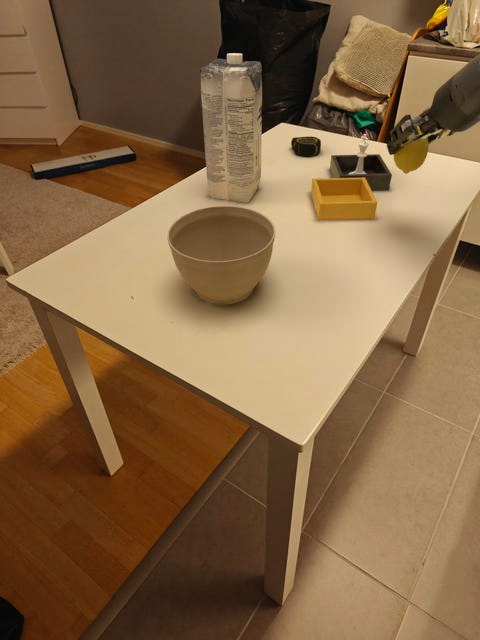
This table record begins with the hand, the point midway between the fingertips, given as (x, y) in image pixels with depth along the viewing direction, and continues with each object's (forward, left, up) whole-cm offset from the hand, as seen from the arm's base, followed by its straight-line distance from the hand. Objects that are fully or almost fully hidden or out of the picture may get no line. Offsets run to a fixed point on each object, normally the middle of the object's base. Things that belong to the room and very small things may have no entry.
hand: (404, 146), depth 81 cm
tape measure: (+12, -35, -15) cm, 40 cm away
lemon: (-1, +2, -4) cm, 5 cm away
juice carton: (+30, -13, -15) cm, 36 cm away
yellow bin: (+8, -6, -15) cm, 18 cm away
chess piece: (+2, -18, -15) cm, 24 cm away
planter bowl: (+32, +20, -15) cm, 41 cm away
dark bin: (+2, -18, -15) cm, 24 cm away
